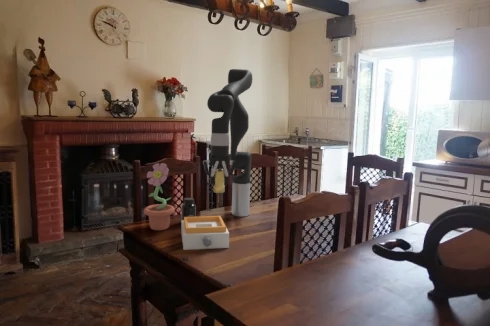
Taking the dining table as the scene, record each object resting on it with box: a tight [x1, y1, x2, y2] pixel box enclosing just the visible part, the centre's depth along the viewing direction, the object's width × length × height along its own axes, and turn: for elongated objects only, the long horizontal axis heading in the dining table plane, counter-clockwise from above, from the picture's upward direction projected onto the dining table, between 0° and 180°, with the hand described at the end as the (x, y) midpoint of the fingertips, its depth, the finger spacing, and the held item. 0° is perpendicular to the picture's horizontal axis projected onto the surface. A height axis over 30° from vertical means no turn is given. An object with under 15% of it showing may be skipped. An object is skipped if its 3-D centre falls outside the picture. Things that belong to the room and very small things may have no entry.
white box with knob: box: [180, 215, 230, 251], centre depth 158 cm, size 23×18×8 cm
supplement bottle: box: [180, 197, 197, 221], centre depth 182 cm, size 7×7×12 cm
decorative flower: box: [143, 162, 176, 231], centre depth 172 cm, size 15×14×30 cm
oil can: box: [213, 167, 226, 194], centre depth 157 cm, size 5×5×10 cm
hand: (219, 185), depth 157 cm, fingers closed on oil can, 4 cm apart
